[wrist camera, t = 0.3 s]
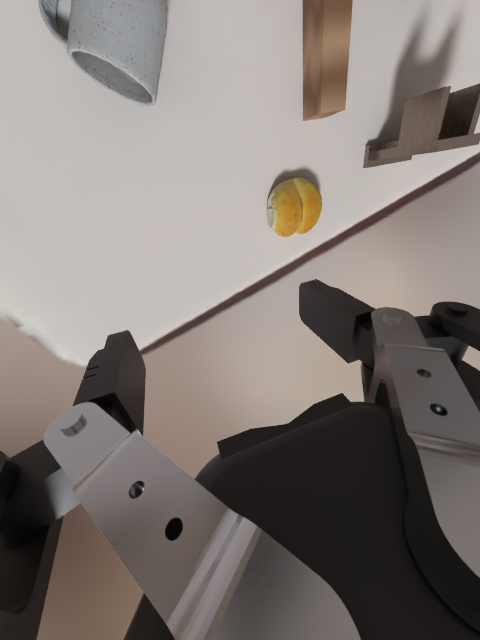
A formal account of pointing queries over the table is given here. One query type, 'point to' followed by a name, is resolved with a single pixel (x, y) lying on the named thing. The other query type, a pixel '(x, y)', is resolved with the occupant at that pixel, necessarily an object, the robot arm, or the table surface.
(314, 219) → the bread roll
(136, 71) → the ceramic mug
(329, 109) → the rail
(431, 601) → the robot arm
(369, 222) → the table surface
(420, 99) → the brackets
